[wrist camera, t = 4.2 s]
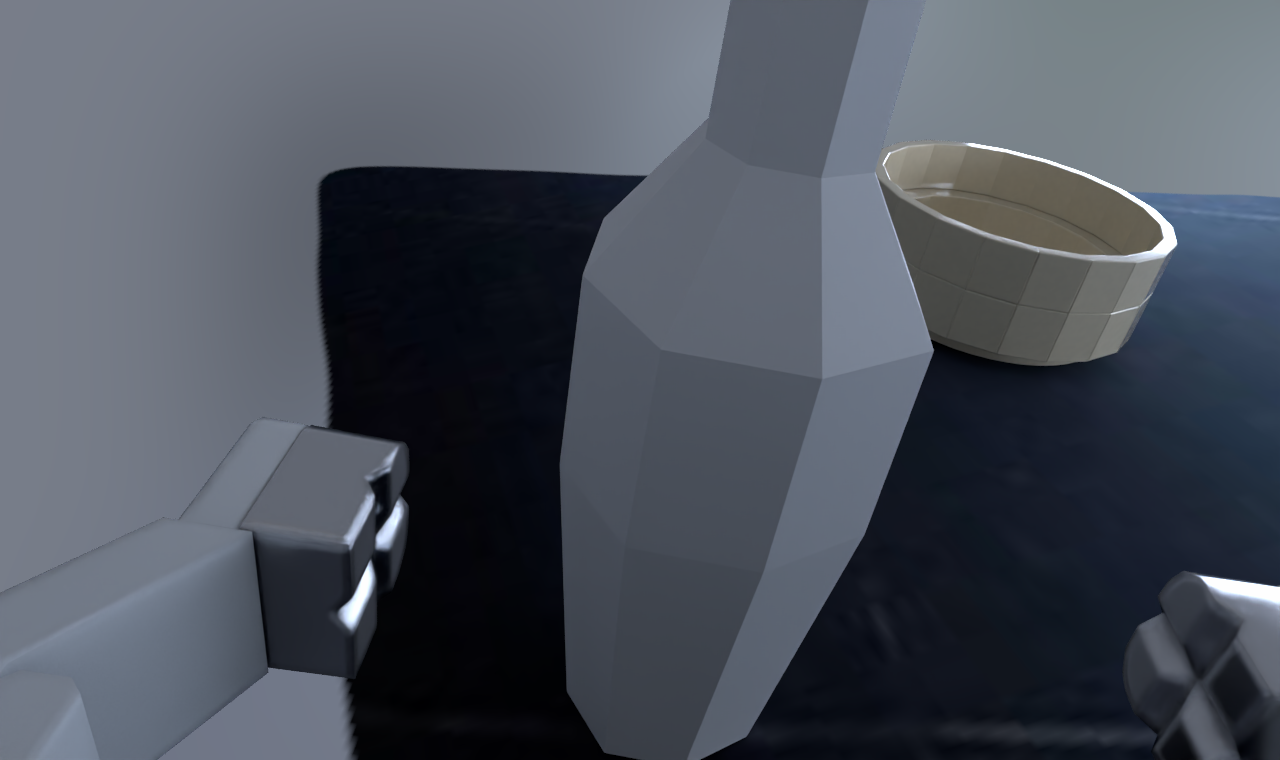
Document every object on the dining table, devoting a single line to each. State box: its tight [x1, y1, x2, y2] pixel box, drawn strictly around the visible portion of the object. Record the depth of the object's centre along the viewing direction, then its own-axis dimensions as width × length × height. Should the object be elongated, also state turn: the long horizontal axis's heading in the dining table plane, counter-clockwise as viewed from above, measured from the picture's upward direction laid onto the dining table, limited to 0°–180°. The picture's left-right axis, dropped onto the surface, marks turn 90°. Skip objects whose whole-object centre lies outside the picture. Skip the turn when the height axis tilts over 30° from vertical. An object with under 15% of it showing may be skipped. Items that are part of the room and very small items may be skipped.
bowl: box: [875, 140, 1177, 366], centre depth 42 cm, size 13×13×6 cm
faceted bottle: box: [560, 0, 934, 760], centre depth 17 cm, size 6×6×22 cm
